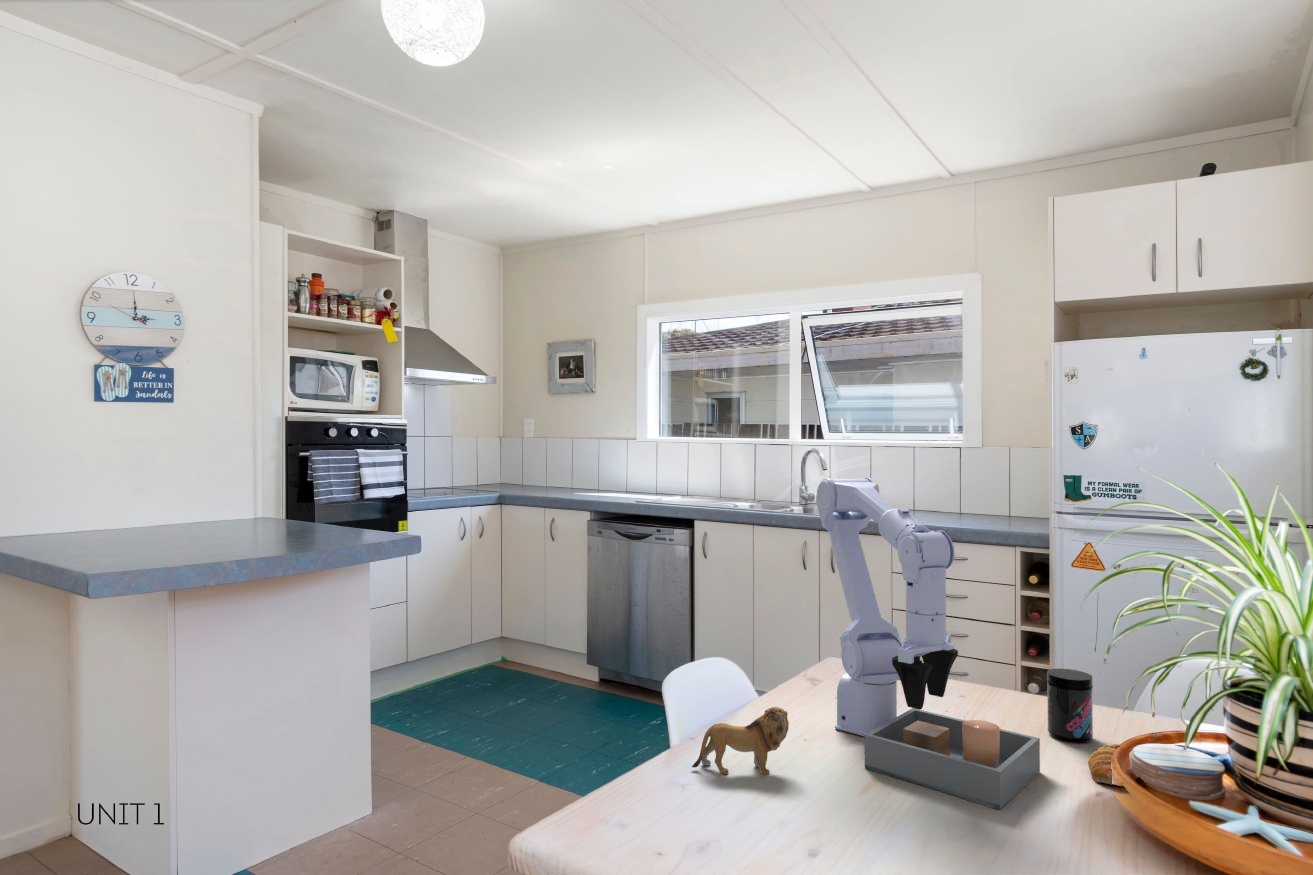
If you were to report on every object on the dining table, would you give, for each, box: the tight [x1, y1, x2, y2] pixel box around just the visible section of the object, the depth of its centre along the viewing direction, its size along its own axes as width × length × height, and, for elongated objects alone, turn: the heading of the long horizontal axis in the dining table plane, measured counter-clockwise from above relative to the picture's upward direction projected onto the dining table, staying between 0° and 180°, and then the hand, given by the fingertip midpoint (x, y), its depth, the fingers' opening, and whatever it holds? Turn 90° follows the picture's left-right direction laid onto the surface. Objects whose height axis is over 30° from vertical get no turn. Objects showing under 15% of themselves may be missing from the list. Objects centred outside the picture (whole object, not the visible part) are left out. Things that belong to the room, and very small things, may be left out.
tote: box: [864, 708, 1041, 811], centre depth 115 cm, size 20×17×5 cm
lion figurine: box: [691, 706, 789, 776], centre depth 115 cm, size 15×5×9 cm, turn 96°
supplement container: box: [1046, 668, 1094, 744], centre depth 129 cm, size 7×7×10 cm
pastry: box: [1087, 743, 1121, 786], centre depth 113 cm, size 9×7×4 cm
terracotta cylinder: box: [962, 719, 1001, 768], centre depth 112 cm, size 5×5×7 cm
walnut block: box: [903, 721, 950, 756], centre depth 116 cm, size 5×5×5 cm
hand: (925, 701), depth 117 cm, fingers open, 7 cm apart
